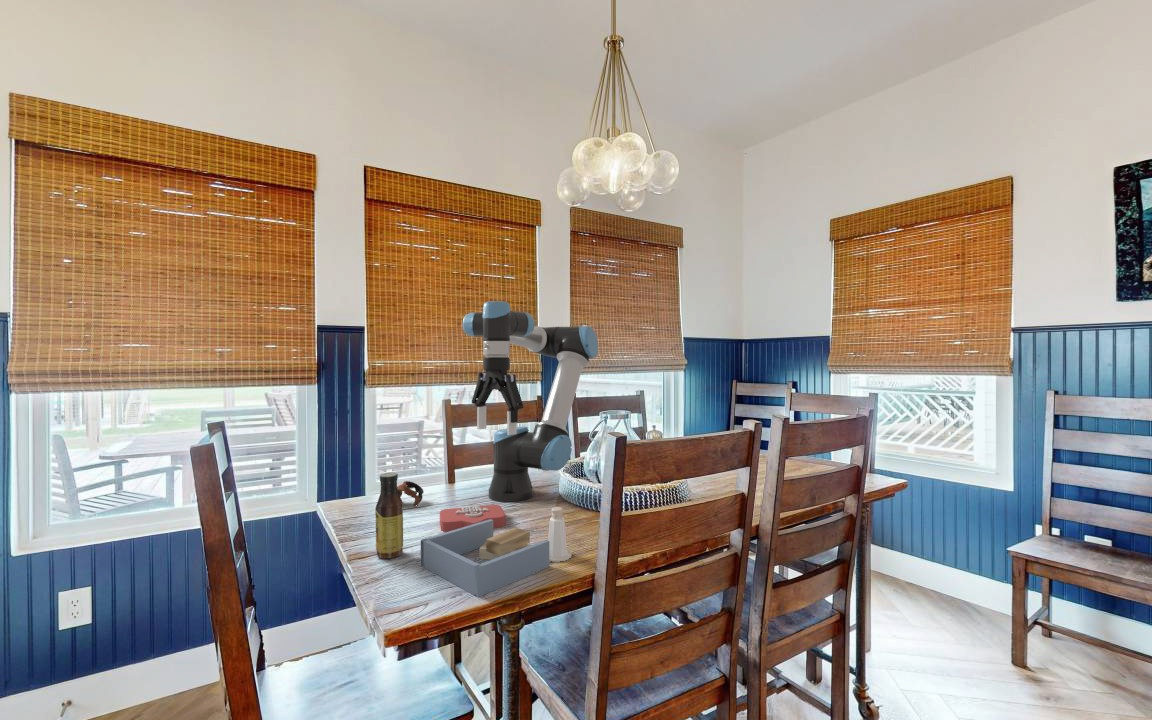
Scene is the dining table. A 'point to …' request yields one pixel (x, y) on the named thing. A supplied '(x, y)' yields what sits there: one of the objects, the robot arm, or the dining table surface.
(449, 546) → the tray
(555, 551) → the pepper shaker
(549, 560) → the stone coaster
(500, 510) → the plaque
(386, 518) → the sauce bottle
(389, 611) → the dining table surface
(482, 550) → the birch offcut
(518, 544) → the oak offcut
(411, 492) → the coiled leather belt
